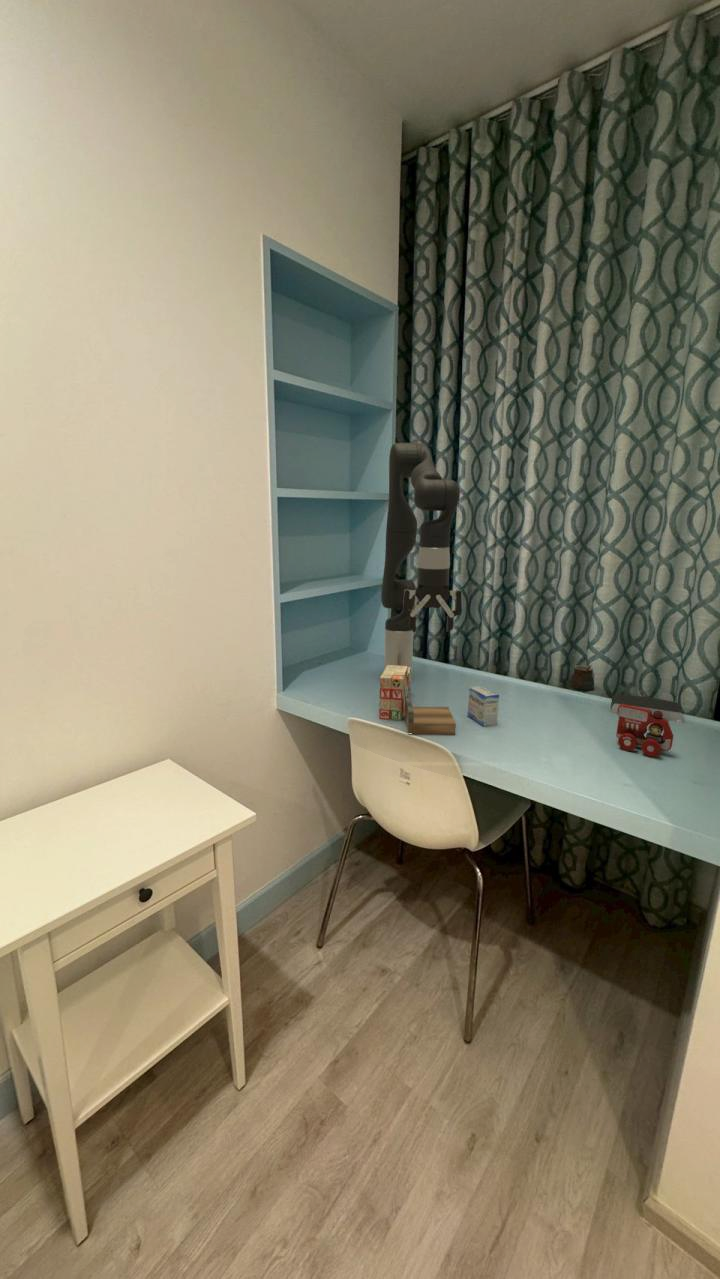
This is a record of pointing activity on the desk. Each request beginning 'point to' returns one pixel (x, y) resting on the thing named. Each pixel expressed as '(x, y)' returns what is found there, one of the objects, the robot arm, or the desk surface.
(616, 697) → the grey flat block
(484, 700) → the medicine box
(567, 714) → the desk surface
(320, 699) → the desk surface
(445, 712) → the dock
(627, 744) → the toy fire truck
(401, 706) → the stack of blocks
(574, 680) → the mate gourd
